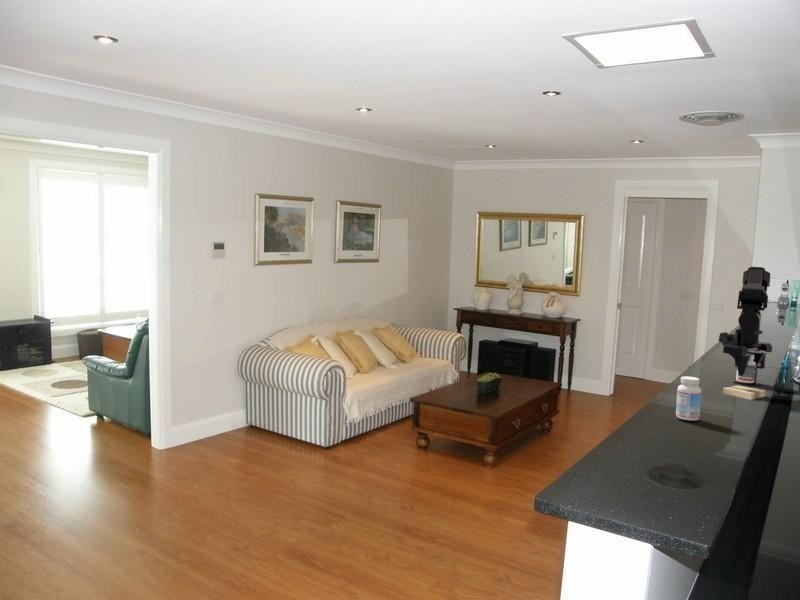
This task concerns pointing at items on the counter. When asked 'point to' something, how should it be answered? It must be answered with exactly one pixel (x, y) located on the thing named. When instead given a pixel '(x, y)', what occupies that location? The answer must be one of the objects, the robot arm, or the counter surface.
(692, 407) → the pill bottle
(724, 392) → the maple block
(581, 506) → the counter surface
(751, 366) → the pill bottle
